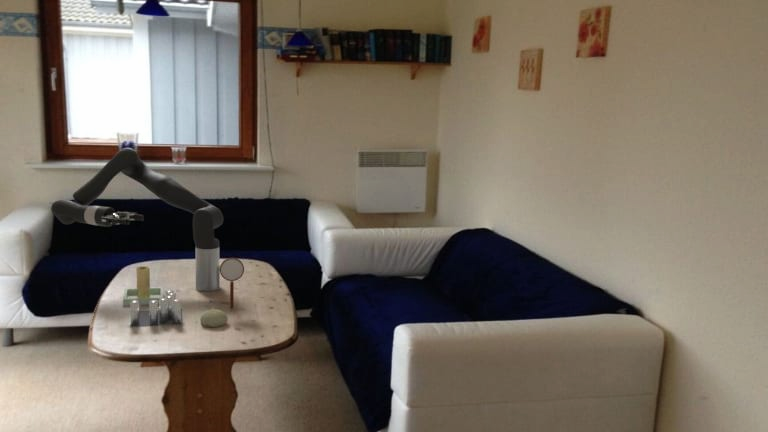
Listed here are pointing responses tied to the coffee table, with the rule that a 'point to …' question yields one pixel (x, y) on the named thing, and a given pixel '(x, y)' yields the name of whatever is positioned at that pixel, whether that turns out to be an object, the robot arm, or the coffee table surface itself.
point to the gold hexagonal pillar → (143, 282)
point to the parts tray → (132, 295)
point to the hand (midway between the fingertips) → (136, 219)
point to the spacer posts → (167, 310)
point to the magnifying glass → (231, 274)
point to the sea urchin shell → (213, 318)
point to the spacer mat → (145, 319)
